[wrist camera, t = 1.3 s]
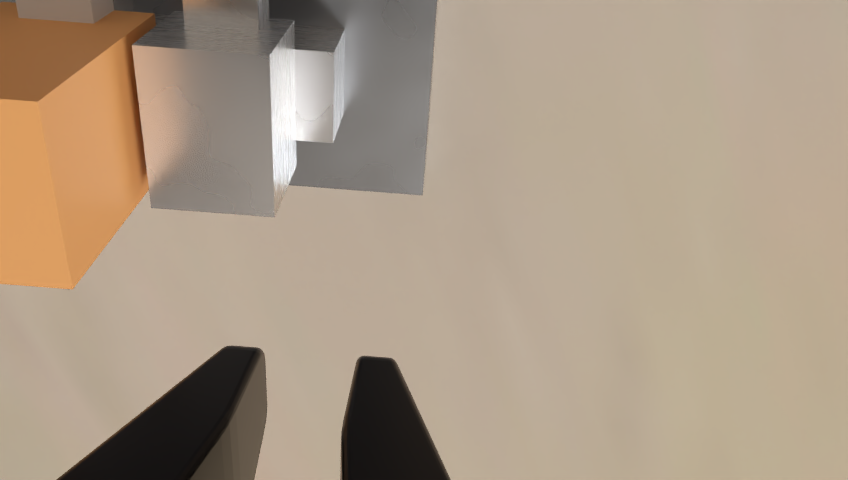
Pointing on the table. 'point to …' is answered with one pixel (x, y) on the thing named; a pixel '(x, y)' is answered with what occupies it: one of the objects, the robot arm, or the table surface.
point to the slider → (66, 135)
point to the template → (281, 99)
